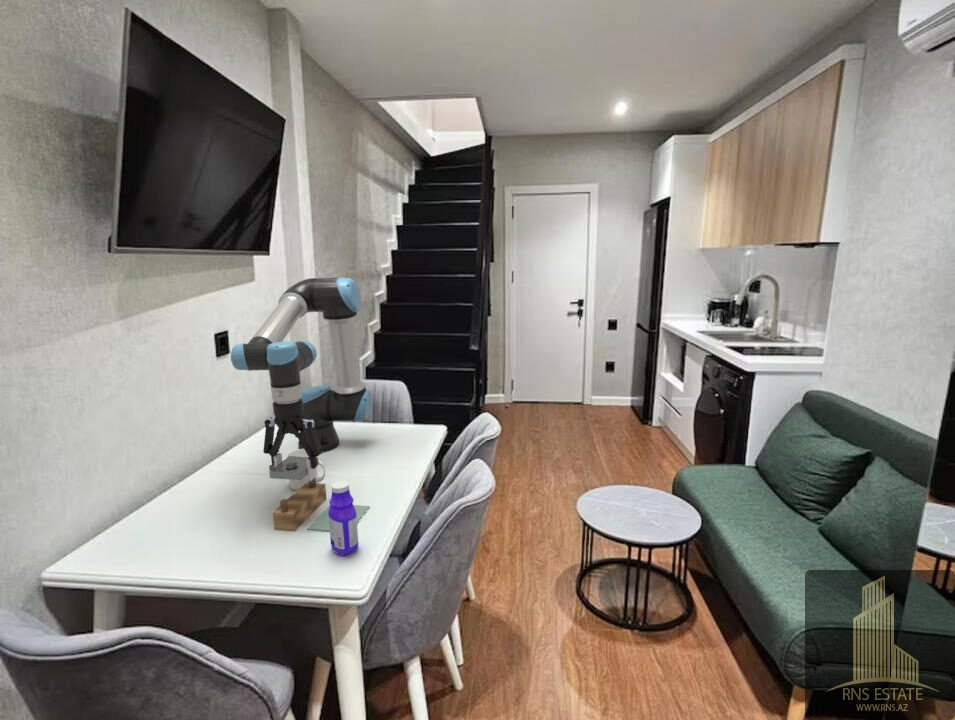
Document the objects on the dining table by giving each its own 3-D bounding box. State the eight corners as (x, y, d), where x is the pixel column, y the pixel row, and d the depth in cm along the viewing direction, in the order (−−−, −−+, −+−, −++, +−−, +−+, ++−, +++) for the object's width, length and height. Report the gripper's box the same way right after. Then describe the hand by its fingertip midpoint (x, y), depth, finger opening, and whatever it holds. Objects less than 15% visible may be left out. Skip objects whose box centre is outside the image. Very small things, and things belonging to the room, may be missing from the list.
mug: (319, 492, 154) (316, 460, 152) (284, 490, 156) (281, 458, 154) (332, 480, 162) (330, 449, 160) (299, 478, 165) (296, 447, 163)
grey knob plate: (290, 462, 144) (289, 454, 143) (319, 464, 142) (318, 455, 141) (270, 478, 134) (268, 469, 133) (301, 480, 132) (300, 471, 132)
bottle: (363, 549, 124) (358, 484, 120) (343, 560, 119) (338, 492, 116) (346, 539, 128) (341, 476, 125) (327, 548, 124) (321, 483, 121)
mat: (331, 504, 147) (331, 503, 146) (369, 507, 144) (369, 506, 144) (307, 529, 133) (307, 528, 133) (349, 533, 131) (349, 532, 131)
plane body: (308, 497, 151) (304, 463, 149) (326, 499, 150) (323, 464, 148) (274, 529, 134) (270, 491, 131) (294, 531, 133) (290, 492, 130)
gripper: (242, 402, 132) (252, 481, 137) (318, 405, 128) (326, 486, 133) (258, 394, 139) (268, 469, 144) (331, 397, 135) (338, 474, 140)
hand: (296, 477), depth 138 cm, fingers closed on grey knob plate, 9 cm apart
